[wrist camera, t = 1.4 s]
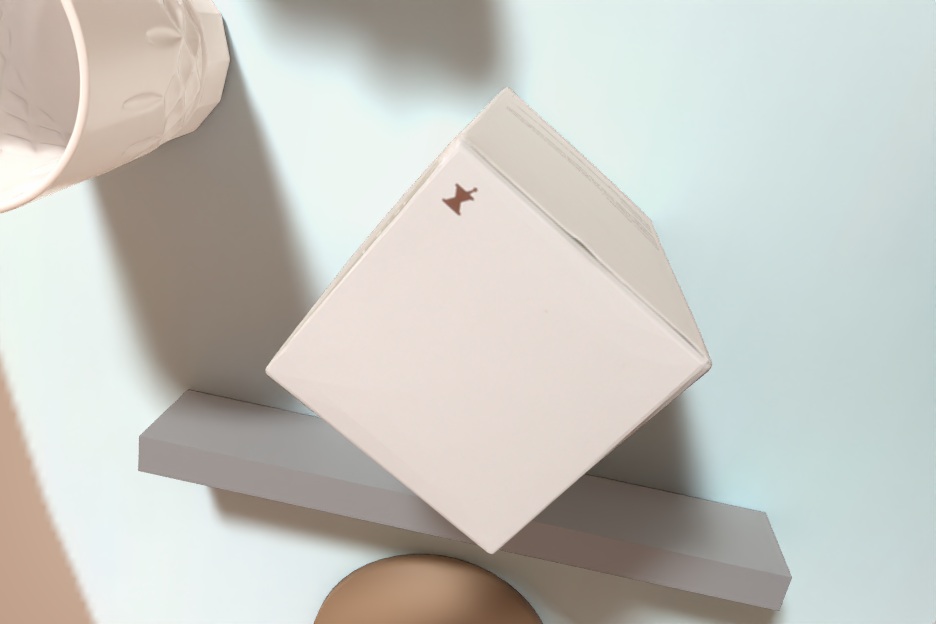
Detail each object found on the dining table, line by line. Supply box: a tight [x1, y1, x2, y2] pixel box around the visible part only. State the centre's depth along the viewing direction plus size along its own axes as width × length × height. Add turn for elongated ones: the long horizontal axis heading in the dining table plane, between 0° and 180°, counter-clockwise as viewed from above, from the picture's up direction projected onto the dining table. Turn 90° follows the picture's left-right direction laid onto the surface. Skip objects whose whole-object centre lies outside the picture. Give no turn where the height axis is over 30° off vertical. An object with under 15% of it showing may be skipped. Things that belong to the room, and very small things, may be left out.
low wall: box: [138, 390, 792, 611], centre depth 31 cm, size 24×2×4 cm, turn 80°
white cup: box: [0, 0, 230, 213], centre depth 24 cm, size 8×8×10 cm
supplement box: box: [265, 87, 712, 554], centre depth 23 cm, size 7×7×13 cm
